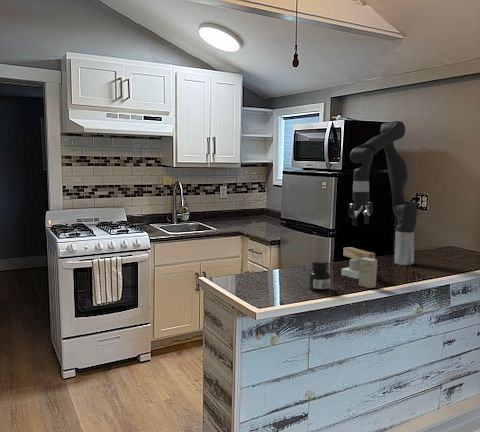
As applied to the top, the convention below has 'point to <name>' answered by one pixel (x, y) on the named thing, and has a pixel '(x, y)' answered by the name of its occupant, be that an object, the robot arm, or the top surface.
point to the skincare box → (368, 272)
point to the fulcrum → (352, 269)
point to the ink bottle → (319, 276)
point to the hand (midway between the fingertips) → (360, 224)
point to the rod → (357, 253)
